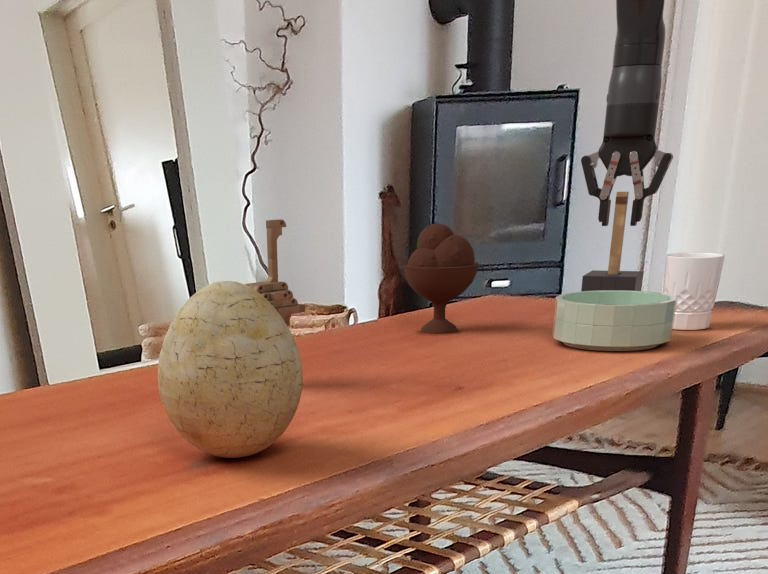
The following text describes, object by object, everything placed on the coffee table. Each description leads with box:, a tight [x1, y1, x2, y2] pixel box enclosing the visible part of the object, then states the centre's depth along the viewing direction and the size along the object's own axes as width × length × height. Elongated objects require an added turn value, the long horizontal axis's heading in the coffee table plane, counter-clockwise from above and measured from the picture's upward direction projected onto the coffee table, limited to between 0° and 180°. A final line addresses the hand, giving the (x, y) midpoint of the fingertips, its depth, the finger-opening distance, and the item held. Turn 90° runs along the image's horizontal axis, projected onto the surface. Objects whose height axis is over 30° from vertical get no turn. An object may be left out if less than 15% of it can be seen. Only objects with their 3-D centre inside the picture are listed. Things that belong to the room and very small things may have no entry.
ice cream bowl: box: [403, 222, 480, 334], centre depth 144 cm, size 11×11×15 cm
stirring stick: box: [607, 191, 630, 274], centre depth 155 cm, size 2×2×18 cm
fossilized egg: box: [156, 280, 304, 459], centre depth 85 cm, size 13×13×15 cm
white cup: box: [662, 251, 726, 331], centre depth 141 cm, size 8×8×10 cm
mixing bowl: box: [551, 290, 678, 352], centre depth 132 cm, size 16×16×6 cm
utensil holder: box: [580, 270, 644, 291], centre depth 158 cm, size 8×8×6 cm
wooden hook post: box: [244, 218, 306, 327], centre depth 109 cm, size 17×7×18 cm, turn 132°
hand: (618, 225), depth 153 cm, fingers open, 3 cm apart
